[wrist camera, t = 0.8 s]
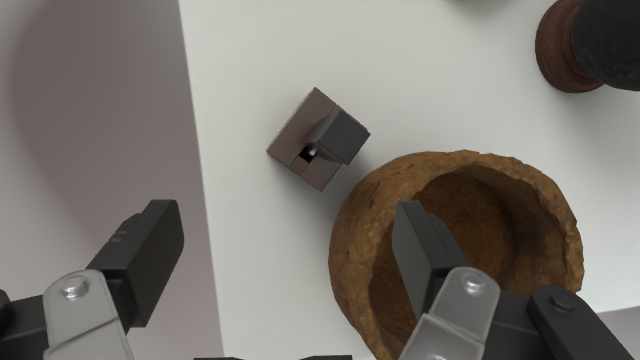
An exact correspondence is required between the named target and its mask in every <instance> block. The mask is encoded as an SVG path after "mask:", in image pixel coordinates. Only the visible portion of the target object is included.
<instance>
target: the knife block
mask: <svg viewBox="0 0 640 360" xmlns="http://www.w3.org/2000/svg"><path fill="white" fill-rule="evenodd" d="M340 110H342V111H343V112H344V113H345V114H347V115H348V116H349V117H350V118H352V119H353V120H354V121H355V122H357V123H358V124H359V125H360V126H361V127H363V128H364V129H365V130H366V131H367V129H366V128H365V127H364V126H363V125H361V124H360V123H359V122H358V121H357V120H355V119H354V118H353V117H352V116H350V115H349V114H348V113H346V112H345V111H344V110H343V109H342V108H341V107H339V106H338V105H336V103H334V102H333V101H332V100H331V99H330V98H328V97H327V96H326V95H325V94H323V93H322V92H321V91H320V90H319V89H317V88H316V87H314V88H313V90H312V91H311V92H310V93H309V94H308V95H307V96H306V97H305V98H304V100H303V101H302V102H301V104H300V105H299V107H298V108H297V109H296V111H295V112H294V113H293V115H292V116H291V117H290V119H289V120H288V121H287V123H286V124H285V125H284V127H283V128H282V129H281V131H280V132H279V133H278V135H277V136H276V137H275V139H274V140H273V141H272V143H271V144H270V145H269V147H268V148H267V149H266V151H267V152H268V153H269V154H270V155H272V156H273V157H274V158H276V159H277V160H278V161H280V162H281V163H282V164H284V165H285V166H287V167H288V168H289V169H291V170H292V171H293V172H295V173H296V174H297V175H299V176H300V177H301V178H303V179H304V180H305V181H307V182H308V183H309V184H311V185H312V186H313V187H315V188H316V189H318V190H319V191H320V192H322V190H323V189H324V188H325V186H326V185H327V184H328V182H329V181H330V180H331V178H332V177H333V176H334V174H335V173H336V172H337V170H338V169H339V168H340V166H341V165H342V164H340V163H336V162H331V161H327V160H324V159H323V158H321V157H320V156H319V155H317V154H316V153H315V154H314V156H312V155H305V157H304V158H301V157H300V156H298V155H299V154H300V153H301V151H302V150H303V149H304V147H305V146H306V145H304V144H303V143H302V142H303V141H304V139H305V138H306V137H307V135H308V134H309V133H310V131H311V130H312V129H313V127H314V126H315V125H316V123H317V122H318V121H319V120H320V119H322V118H324V117H326V116H329V115H331V114H333V113H335V112H338V111H340Z"/></svg>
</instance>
